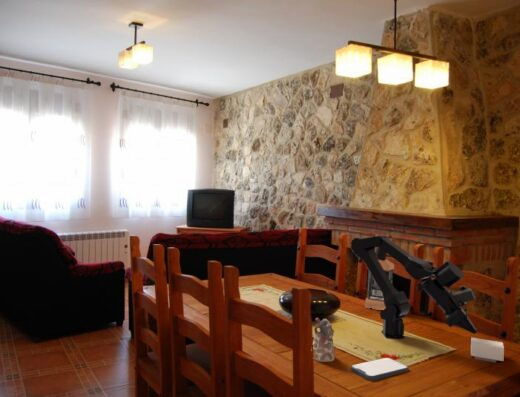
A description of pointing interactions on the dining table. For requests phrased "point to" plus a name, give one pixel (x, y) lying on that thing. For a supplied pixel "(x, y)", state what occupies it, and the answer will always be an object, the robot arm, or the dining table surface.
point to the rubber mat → (484, 359)
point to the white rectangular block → (487, 349)
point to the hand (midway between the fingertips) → (475, 332)
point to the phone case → (379, 369)
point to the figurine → (323, 341)
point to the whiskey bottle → (373, 291)
